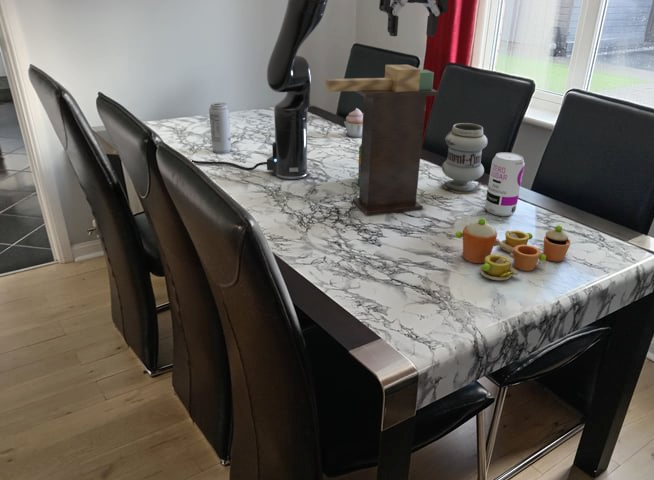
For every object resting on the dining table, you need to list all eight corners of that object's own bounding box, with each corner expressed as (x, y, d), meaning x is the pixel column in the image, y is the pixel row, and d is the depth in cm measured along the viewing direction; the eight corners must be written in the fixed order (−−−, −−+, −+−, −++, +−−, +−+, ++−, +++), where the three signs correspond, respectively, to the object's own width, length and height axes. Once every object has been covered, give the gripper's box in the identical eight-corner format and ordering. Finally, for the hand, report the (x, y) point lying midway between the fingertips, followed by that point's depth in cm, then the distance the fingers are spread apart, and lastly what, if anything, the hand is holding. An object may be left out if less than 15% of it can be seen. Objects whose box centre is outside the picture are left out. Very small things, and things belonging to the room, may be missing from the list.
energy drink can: (234, 152, 188) (231, 105, 181) (216, 154, 185) (212, 106, 178) (227, 147, 192) (223, 101, 185) (209, 149, 189) (205, 102, 182)
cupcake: (353, 130, 220) (354, 104, 215) (373, 135, 216) (374, 108, 211) (338, 135, 214) (338, 107, 209) (358, 140, 209) (359, 112, 204)
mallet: (332, 93, 130) (332, 70, 128) (322, 87, 136) (322, 65, 133) (418, 91, 138) (420, 69, 136) (405, 85, 144) (407, 64, 141)
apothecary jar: (431, 186, 169) (438, 124, 160) (455, 178, 177) (463, 118, 168) (465, 198, 162) (474, 134, 153) (488, 188, 170) (498, 127, 161)
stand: (361, 216, 146) (367, 94, 132) (347, 202, 154) (351, 85, 140) (427, 208, 153) (440, 92, 139) (410, 195, 161) (420, 84, 147)
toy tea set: (492, 287, 117) (500, 244, 112) (444, 256, 128) (450, 216, 124) (578, 262, 130) (589, 222, 125) (528, 236, 141) (536, 198, 136)
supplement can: (516, 208, 157) (527, 154, 150) (513, 219, 150) (523, 162, 143) (487, 203, 159) (495, 150, 152) (482, 213, 152) (491, 158, 145)
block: (417, 90, 139) (419, 72, 137) (410, 86, 143) (411, 69, 141) (432, 89, 141) (434, 72, 139) (424, 86, 144) (426, 69, 142)
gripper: (441, -54, 116) (433, 34, 123) (376, -59, 110) (372, 33, 118) (461, -54, 110) (451, 38, 117) (393, -59, 104) (388, 38, 112)
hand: (411, 36), depth 118 cm, fingers open, 8 cm apart
